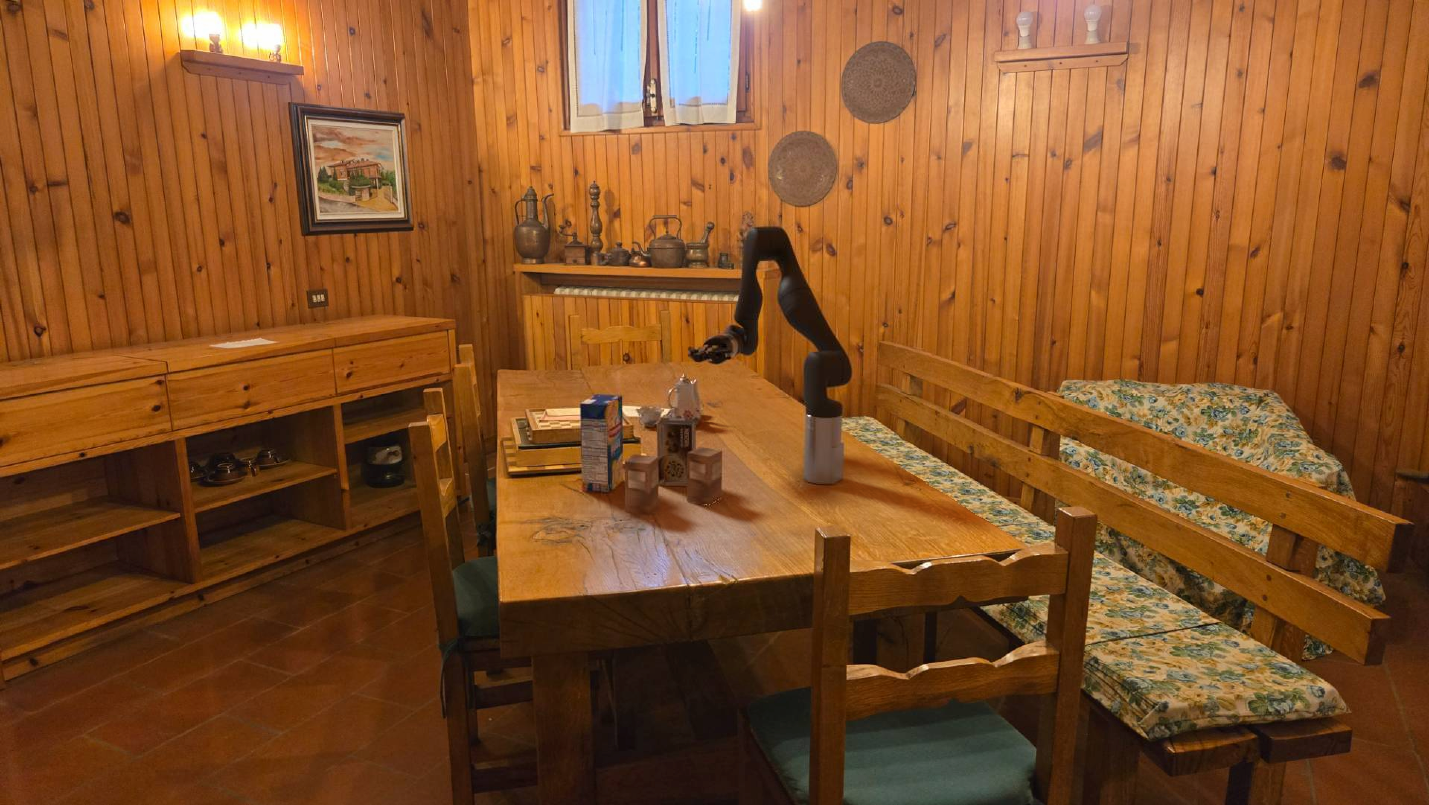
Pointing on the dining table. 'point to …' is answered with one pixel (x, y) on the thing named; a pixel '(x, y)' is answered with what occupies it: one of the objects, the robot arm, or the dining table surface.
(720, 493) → the marked block 2
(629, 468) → the marked block 1
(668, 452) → the coffee box
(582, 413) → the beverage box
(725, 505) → the dining table surface
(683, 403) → the chinaware
